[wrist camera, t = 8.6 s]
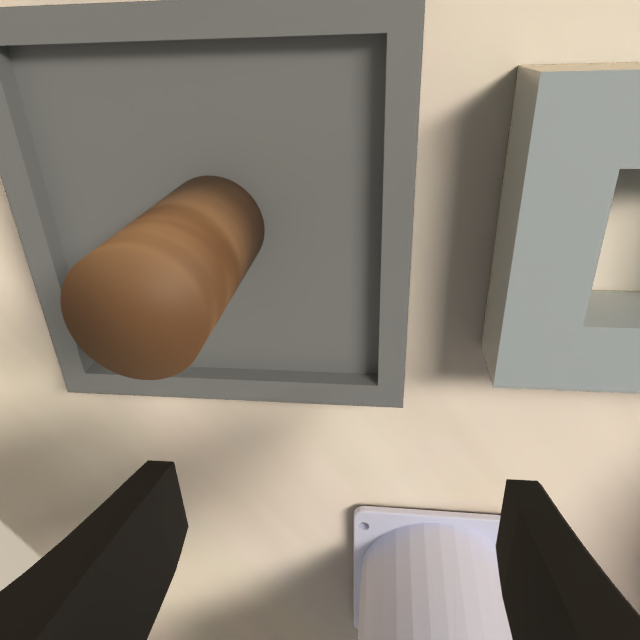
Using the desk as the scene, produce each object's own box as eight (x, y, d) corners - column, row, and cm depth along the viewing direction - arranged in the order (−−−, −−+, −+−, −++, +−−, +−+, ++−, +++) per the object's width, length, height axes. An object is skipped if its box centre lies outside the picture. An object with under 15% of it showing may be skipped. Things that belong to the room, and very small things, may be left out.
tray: (401, 384, 22) (402, 407, 21) (86, 371, 24) (67, 392, 23) (422, -7, 16) (425, -11, 14) (-16, 10, 17) (-52, 9, 16)
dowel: (268, 273, 20) (213, 383, 14) (175, 271, 20) (80, 377, 14) (259, 175, 18) (192, 250, 12) (158, 175, 18) (42, 248, 12)
